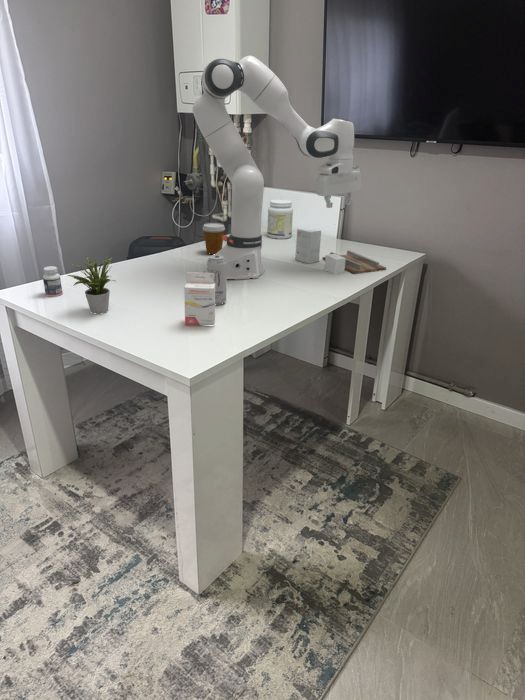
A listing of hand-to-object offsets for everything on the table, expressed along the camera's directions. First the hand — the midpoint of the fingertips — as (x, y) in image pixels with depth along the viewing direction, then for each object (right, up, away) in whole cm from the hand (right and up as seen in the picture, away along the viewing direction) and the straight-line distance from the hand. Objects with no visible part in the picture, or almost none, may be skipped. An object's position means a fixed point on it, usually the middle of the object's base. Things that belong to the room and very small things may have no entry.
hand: (338, 206), depth 189 cm
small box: (-10, -17, +22) cm, 29 cm away
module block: (0, -23, +9) cm, 25 cm away
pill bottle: (-96, -36, -25) cm, 106 cm away
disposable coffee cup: (-49, -13, +27) cm, 58 cm away
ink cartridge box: (-47, -46, -42) cm, 78 cm away
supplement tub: (-20, +2, +59) cm, 63 cm away
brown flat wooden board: (+9, -19, +19) cm, 28 cm away
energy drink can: (-43, -39, -27) cm, 64 cm away
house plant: (-78, -42, -35) cm, 95 cm away
